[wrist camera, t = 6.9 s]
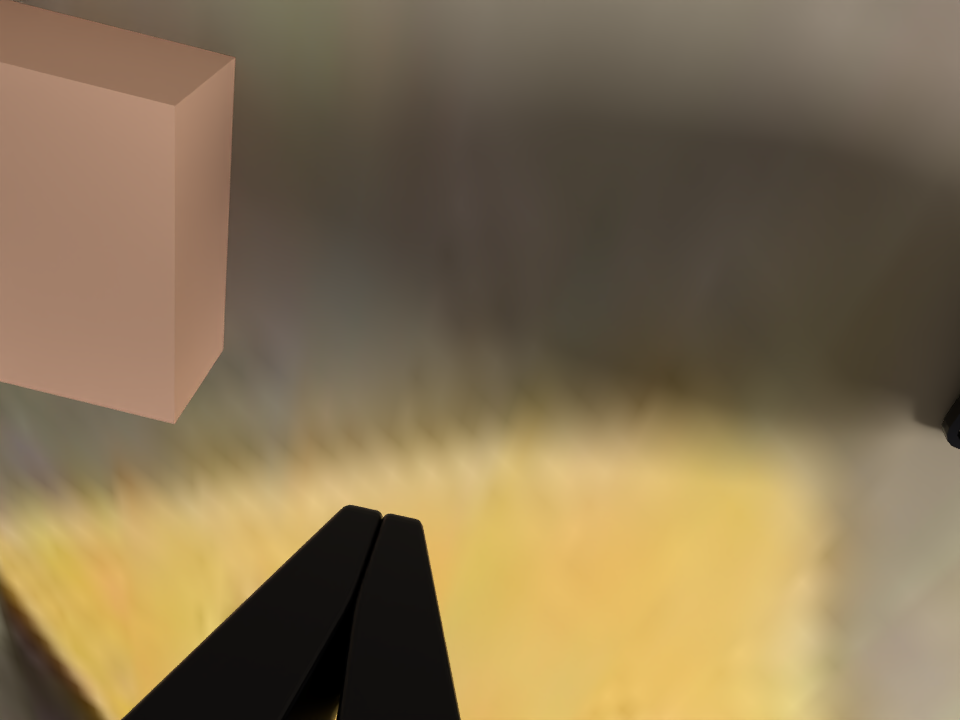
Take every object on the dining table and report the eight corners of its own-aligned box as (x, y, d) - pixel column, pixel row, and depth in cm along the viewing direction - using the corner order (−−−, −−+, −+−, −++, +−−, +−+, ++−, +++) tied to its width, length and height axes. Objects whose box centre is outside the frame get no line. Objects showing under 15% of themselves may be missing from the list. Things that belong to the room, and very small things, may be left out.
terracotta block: (240, 52, 19) (175, 105, 16) (227, 343, 24) (174, 424, 21) (-72, -26, 19) (-192, 13, 16) (-25, 281, 24) (-111, 354, 21)
